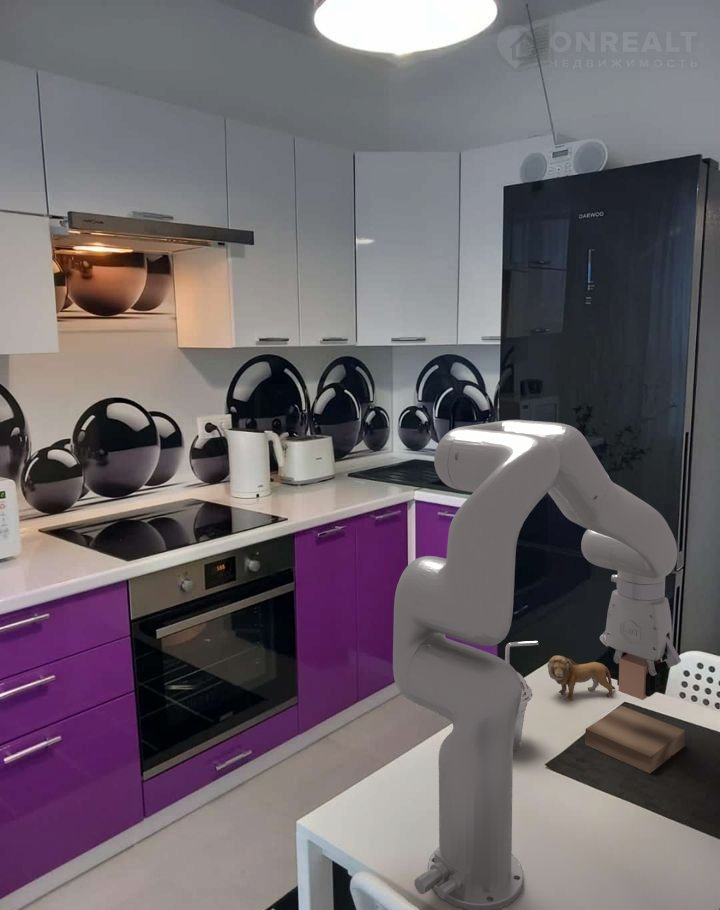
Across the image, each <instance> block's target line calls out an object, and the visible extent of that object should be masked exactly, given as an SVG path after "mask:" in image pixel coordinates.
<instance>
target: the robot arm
mask: <svg viewBox="0 0 720 910" xmlns="http://www.w3.org/2000/svg"><path fill="white" fill-rule="evenodd" d="M434 452H435V453H434V456H433V459H434V460H433V463H434V468H435V472H436V474H437V476H438V477H439V479H440V481H441V482H442V483H443V484H445V485H446V486H447V487H449V488H452V489H454V490H456V491H457V490H458V491H464V492H469V493H471V494H470V495H469V497H468V498H466V500H465V501H464V502H463V503H462V504H461V505H460V507H459V508H458V509H457V511H456V512H455V514H454V516H453V517H452V520H451V522H450V525H449V528H448V536H447V547H446V558H444V557H440V556H435V555H434V556H433V555H425V556H421V557H418V558H415V559H413V561H411V562H409V564H408V565H407V566H406V567H405V568H404V570H403V572H402V573H401V576H400V578H399V581H398V583H397V585H396V589H395V594H394V605H393V636H392V638H393V639H392V641H393V643H392V644H393V645H392V646H393V647H392V672H393V678H394V682H395V685H396V689H397V690H398V692H399V693H400V694H401V695H402V696H403V697H404V698H406V699H407V700H408V701H411V702H412V703H415V704H417V705H418V706H420V707H422V708H425V709H427V710H429V711H432V712H433V713H435V714H437V715H439V716H441V717H443V718H445V719H448V721H450V722H451V723H452V730H451V731H450V733H449V734H447V736H445V738H444V739H443V741H442V743H441V745H440V748H439V751H438V827H439V828H438V833H439V835H438V837H439V839H438V841H439V843H438V844H439V846H438V847H437V848H436V849H435V850H433V852H432V854H431V856H430V857H429V859H428V862H427V871H426V872H424V873H423V874H421V875H419V876H418V877H416V878H415V880H414V887H415V889H416V891H417V892H418V893H419V894H420V895H425V894H426V893H428V892H429V891H430V890H431V889H433V891H434V892H435V893H436V894H437V895H438V897H439V898H440V899H443V900H444V901H446V902H447V903H449V904H451V905H453V906H455V907H457V908H460V909H464V910H498V909H501V908H504V907H506V906H507V905H510V904H511V903H513V902H514V901H515V900H516V899H517V898H518V896H519V895H520V894H521V892H522V890H523V886H524V871H523V867H522V864H521V862H520V861H519V860H518V858H517V857H516V856H515V855H514V853H512V849H513V848H512V847H513V846H512V845H513V843H512V842H513V765H514V764H513V760H514V759H513V757H514V756H513V755H514V751H513V741H514V732H515V725H516V720H517V716H518V711H519V707H520V702H521V695H522V685H521V680H520V678H519V676H518V674H517V672H518V671H517V670H515V668H514V667H513V666H512V665H511V664H510V663H509V664H508V663H507V662H506V661H505V659H502V658H501V657H499V656H497V655H495V654H492V653H490V652H487V651H485V650H482V649H480V648H477V647H473V646H470V645H468V644H471V645H477V646H482V647H489V646H490V647H491V646H495V645H498V644H500V643H502V641H503V640H505V639H506V637H507V636H508V634H509V632H510V628H511V627H512V621H513V620H512V619H513V611H514V610H513V609H514V596H515V595H514V594H515V593H514V591H515V572H516V571H515V570H516V554H517V553H516V552H517V544H518V538H519V535H520V531H521V529H522V527H523V525H524V522H525V521H526V519H527V518H528V517H529V515H530V513H531V512H532V511H533V510H534V508H535V507H536V506H537V504H538V503H539V502H540V501H541V500H542V499H543V497H545V496H546V494H548V495H549V496H550V498H551V499H552V500H553V501H554V503H555V504H556V506H557V508H558V509H559V510H560V511H561V513H562V514H563V516H565V518H567V520H568V521H570V522H572V523H575V524H577V525H579V526H580V527H582V528H584V529H586V530H585V532H584V533H583V535H582V539H581V541H580V542H581V544H580V545H581V547H580V548H581V553H582V555H583V557H584V558H585V559H586V560H587V562H589V563H591V564H593V565H594V566H598V567H600V568H604V569H608V570H614V571H617V574H615V573H614V574H612V575H611V577H610V581H611V582H612V583H615V584H616V588H615V589H614V590H612V592H611V595H610V600H609V605H608V609H607V615H606V616H607V617H606V623H605V624H606V625H605V631H603V632H602V634H601V635H600V636H599V640H600V642H601V643H603V645H604V646H605V647H606V648H607V651H609V653H610V654H611V656H612V658H613V662H614V663H615V665H616V666H615V669H616V671H615V676H616V678H617V680H616V681H617V683H616V684H617V686H618V687H619V659H620V658H621V657H623V656H625V655H626V654H631V655H634V656H637V657H640V658H643V659H647V664H648V669H649V673H648V674H646V689H645V695H646V696H648V697H649V698H650V697H652V696H653V695H654V694H656V693H657V692H659V690H660V686H661V685H660V684H661V672H663V671H664V670H666V669H669V668H672V667H674V666H677V665H679V664H680V663H681V662H682V659H681V658H680V655H679V653H678V652H677V650H676V648H675V647H674V645H673V625H672V623H673V622H672V614H671V609H670V608H671V607H670V602H669V599H668V597H665V596H666V595H665V591H666V576H668V575H669V574H670V573H672V571H673V570H674V569H675V567H676V564H677V561H678V546H677V541H676V539H675V537H674V534H673V532H672V530H671V528H670V526H669V524H668V522H667V520H666V519H665V518H664V517H663V515H662V514H661V513H660V512H659V511H658V510H657V509H655V508H654V507H653V506H651V505H650V504H649V503H647V502H645V501H644V500H642V499H641V498H639V497H638V496H636V495H635V494H633V493H631V492H630V491H628V490H627V489H625V488H624V487H622V486H620V485H618V484H616V483H615V482H613V481H612V480H611V478H610V476H609V474H608V472H607V471H606V470H605V468H604V466H603V465H602V463H601V461H600V460H599V458H598V457H597V455H596V453H595V452H594V450H593V449H592V447H591V445H590V444H589V441H588V440H587V439H586V437H585V436H584V435H583V434H582V432H581V431H580V430H578V429H577V428H576V427H574V426H572V425H569V424H565V423H561V422H554V421H552V422H551V421H538V420H536V421H535V420H524V419H507V420H500V421H492V422H487V423H479V424H472V425H464V426H459V427H456V428H453V429H451V430H449V431H448V432H447V433H445V435H443V437H442V438H441V439H440V440H439V441H438V444H437V446H436V448H435V451H434ZM446 636H447V637H450V638H453V639H455V640H453V639H450V638H447V637H446ZM456 640H460V641H462V642H465V643H467V644H465V643H461V642H458V641H456ZM664 655H666V657H667V658H666V659H664V660H663V657H664ZM648 697H647V698H648Z"/></svg>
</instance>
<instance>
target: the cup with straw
mask: <svg viewBox="0 0 720 910" xmlns="http://www.w3.org/2000/svg"><path fill="white" fill-rule="evenodd" d="M539 645H540V643H539V640H529V641H528V640H527V641H513V642H508V643H507V644H506V646H505V652H504V653H505V655H504V656H505V657H504V661H506V662H507V663H508V664H510V648H511V647H523V646H524V647H527V646H528V647H529V646H539ZM516 672H517V674H518V676H519V678H520V680H521V685H522V695H521V702H520V707H519V711H518V716H517V720H516V725H515V732H514V741H513V752H516V751H519V750H520V748H521V744H520V743H521V742H522V734H523V730H524V729H523V727H524V720H525V719H524V718H525V714H526V713H525V712H526V711H527V706H528V703H529V702H530V701H531V700H532V699H533V696H534V695H533V691H532V687H530V685H529V684H528V683H527V682H526V680H525V678H524V676H523V675H522V674H521V673H520V672H518V671H516Z"/></svg>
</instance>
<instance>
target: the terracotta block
mask: <svg viewBox="0 0 720 910" xmlns="http://www.w3.org/2000/svg"><path fill="white" fill-rule="evenodd" d="M648 673H649V669H648V664H647V659H643V658H640V657H637V656H634V655H631V654H626V655H625V656H623V657H621V658H620V659H619V686H618V692H621V693H623V694H626V695H628V696H630V697H633V698H637V699H639V700H642V701H644V700H645V699H647V698H648V696H646V695H645V689H646V674H648Z"/></svg>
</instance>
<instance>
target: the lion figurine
mask: <svg viewBox="0 0 720 910" xmlns="http://www.w3.org/2000/svg"><path fill="white" fill-rule="evenodd" d="M547 668H548V669H547V670H548V675H549V677H550V678H551V679H552V680H554V681H555V682H556V683H557V684H558V685H560V686H561V689H560V690H559V691H558V694H559V693H561V694H560V695H564V694H563V693H565V694H566V692H567V689H568V695H566V697H565V698H566V700H567V699H568V701H570V700H571V701H573V700H574V696H575V695H574V692H575V691H574V690H575V686H576V684H578V683H580V684H581V683H587V682H588V681H590V680H592V682H593V683H592V686H590V687H589V686H588V687H587V689H588V690H587V691H588V692H594V691H595V690H596V689H597V688H598V687H599V686H600V685H601V686H602V687H603V688H605V689H607V691H608V692H606V693H605V697H606V698H609V697H610V698H612V697H613V694H614V690H616V687H615V686H614V685H612V684H613V683H612V676H611V673H610V671H609V669H608V667H607V666H605V664H603V663H601V662H597V661H591V662H588V663H582V664H581V663H580V664H579V663H577V662H575V661H574V660H573V659H571V658H567V657H565V656H564V655H560V654H558V655H553V656H552V657H551V658H550V659H549V660H548V662H547ZM572 699H573V700H572Z"/></svg>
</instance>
